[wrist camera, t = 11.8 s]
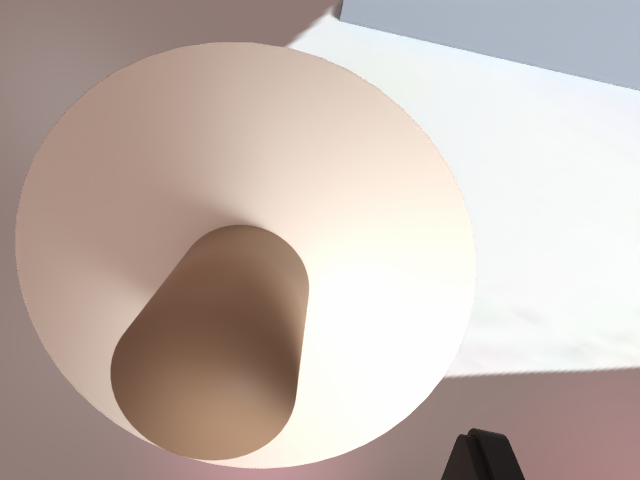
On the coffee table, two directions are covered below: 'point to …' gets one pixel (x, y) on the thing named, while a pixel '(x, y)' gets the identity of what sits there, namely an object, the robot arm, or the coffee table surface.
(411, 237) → the lid
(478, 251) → the coffee table surface
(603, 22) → the mat
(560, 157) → the coffee table surface
